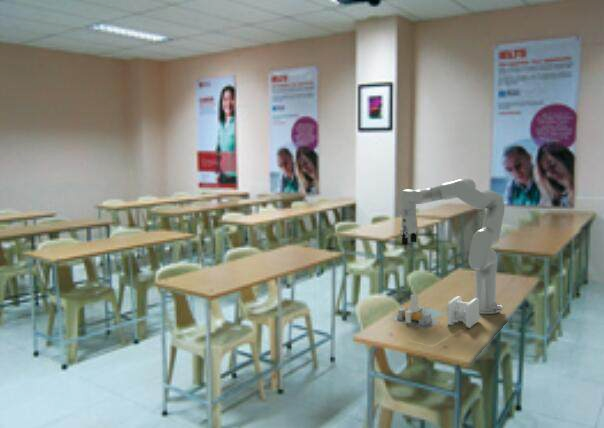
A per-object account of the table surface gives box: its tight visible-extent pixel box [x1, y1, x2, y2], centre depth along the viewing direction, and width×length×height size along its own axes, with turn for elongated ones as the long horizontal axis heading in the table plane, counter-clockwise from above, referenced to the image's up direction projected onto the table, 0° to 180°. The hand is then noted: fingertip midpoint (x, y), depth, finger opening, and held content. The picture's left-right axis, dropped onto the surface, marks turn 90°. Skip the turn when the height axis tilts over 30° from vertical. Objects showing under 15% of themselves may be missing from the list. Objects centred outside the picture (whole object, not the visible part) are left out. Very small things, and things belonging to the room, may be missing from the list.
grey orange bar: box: [397, 307, 431, 325], centre depth 243 cm, size 15×4×4 cm, turn 45°
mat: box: [407, 307, 447, 320], centre depth 255 cm, size 18×12×1 cm, turn 45°
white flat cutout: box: [405, 293, 424, 323], centre depth 243 cm, size 2×12×12 cm, turn 135°
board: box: [389, 314, 441, 329], centre depth 243 cm, size 20×13×3 cm, turn 45°
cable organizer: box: [445, 295, 480, 329], centre depth 237 cm, size 15×11×12 cm
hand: (409, 243), depth 280 cm, fingers open, 9 cm apart
